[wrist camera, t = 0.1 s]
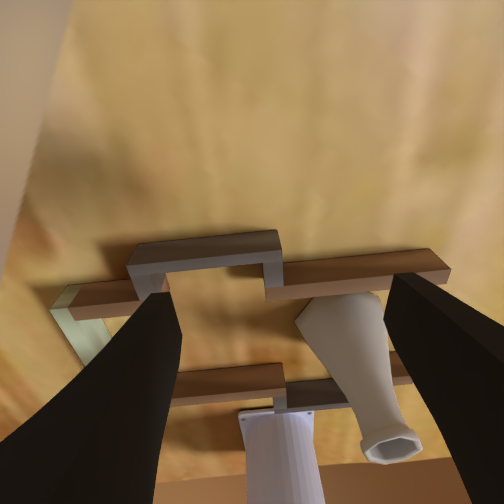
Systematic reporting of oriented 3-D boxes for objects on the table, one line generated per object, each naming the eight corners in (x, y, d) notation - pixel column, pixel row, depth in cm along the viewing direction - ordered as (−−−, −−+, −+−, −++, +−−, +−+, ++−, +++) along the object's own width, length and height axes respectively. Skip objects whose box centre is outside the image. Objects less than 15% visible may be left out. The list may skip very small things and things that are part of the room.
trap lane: (394, 377, 29) (406, 401, 27) (132, 402, 30) (125, 428, 27) (439, 212, 19) (464, 231, 17) (49, 253, 20) (27, 275, 18)
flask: (278, 319, 24) (300, 455, 16) (351, 268, 22) (423, 397, 13) (330, 357, 27) (371, 489, 19) (399, 316, 25) (483, 447, 16)
